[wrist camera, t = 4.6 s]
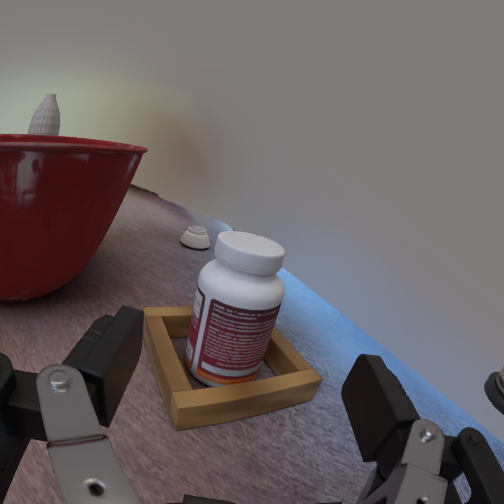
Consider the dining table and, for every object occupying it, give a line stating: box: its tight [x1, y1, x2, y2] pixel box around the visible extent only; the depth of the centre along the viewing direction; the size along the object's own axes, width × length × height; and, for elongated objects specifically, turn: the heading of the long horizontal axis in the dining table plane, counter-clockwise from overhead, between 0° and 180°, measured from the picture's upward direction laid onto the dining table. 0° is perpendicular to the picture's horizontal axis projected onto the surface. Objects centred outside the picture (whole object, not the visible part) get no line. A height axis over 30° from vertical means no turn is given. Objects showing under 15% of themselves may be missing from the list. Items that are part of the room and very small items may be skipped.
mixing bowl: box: [0, 134, 148, 302], centre depth 24 cm, size 28×28×15 cm
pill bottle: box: [185, 231, 285, 387], centre depth 22 cm, size 6×6×11 cm
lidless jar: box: [181, 226, 210, 249], centre depth 50 cm, size 5×3×5 cm
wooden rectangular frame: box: [142, 307, 323, 430], centre depth 23 cm, size 11×11×2 cm
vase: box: [28, 94, 60, 136], centre depth 81 cm, size 13×13×28 cm
